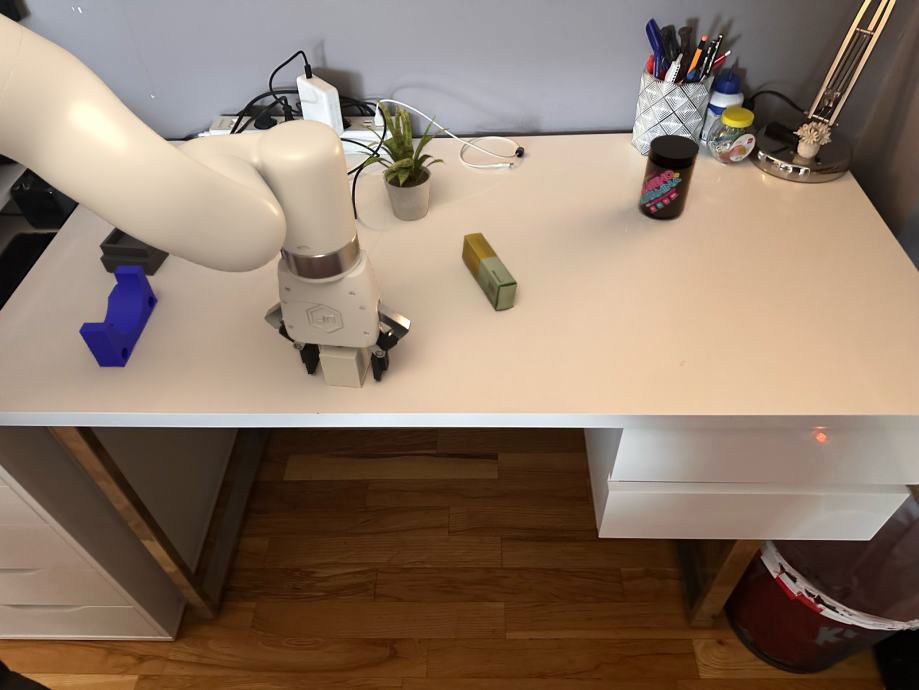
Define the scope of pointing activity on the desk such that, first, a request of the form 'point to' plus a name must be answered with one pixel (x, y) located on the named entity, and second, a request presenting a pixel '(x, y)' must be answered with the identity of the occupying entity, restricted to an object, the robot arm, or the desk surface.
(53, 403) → the desk surface
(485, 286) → the medication box
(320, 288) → the robot arm
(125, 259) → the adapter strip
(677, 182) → the supplement container
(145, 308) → the blue curved cradle bracket
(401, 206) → the house plant
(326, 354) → the block
